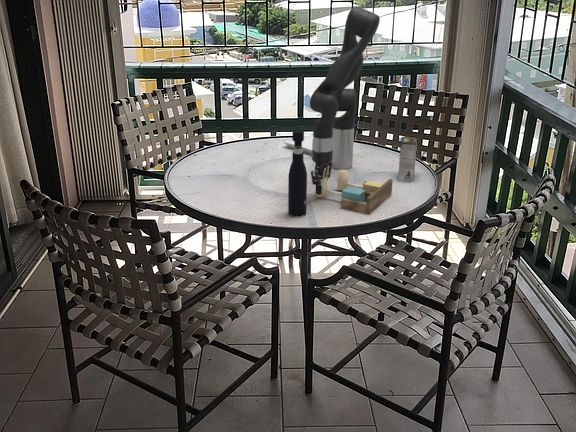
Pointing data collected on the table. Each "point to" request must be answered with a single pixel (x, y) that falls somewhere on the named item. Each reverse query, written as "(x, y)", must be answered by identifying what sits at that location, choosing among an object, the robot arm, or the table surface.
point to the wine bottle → (297, 178)
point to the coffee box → (407, 158)
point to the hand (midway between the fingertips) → (321, 192)
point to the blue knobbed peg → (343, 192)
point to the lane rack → (369, 199)
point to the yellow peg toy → (343, 183)
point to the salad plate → (303, 143)
